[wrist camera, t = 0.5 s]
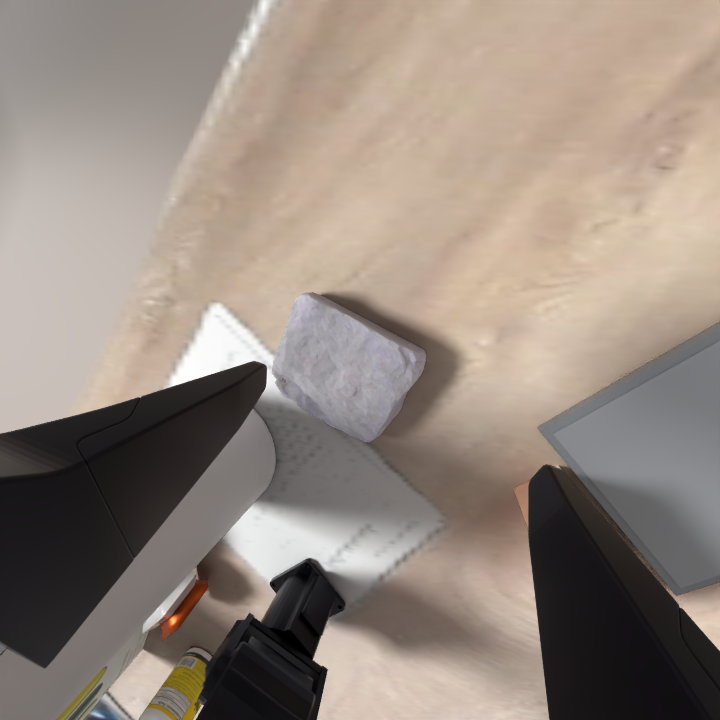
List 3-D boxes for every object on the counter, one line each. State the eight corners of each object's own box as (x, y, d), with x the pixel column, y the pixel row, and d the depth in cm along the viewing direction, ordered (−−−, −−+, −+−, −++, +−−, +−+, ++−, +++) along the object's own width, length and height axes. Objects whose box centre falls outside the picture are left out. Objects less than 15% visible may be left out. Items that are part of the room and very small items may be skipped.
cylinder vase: (161, 437, 34) (-458, 746, 11) (217, 365, 30) (-574, 602, 7) (235, 518, 34) (-243, 1029, 10) (302, 454, 30) (-229, 1055, 6)
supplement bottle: (210, 685, 41) (142, 797, 32) (181, 657, 42) (106, 760, 32) (226, 667, 40) (160, 780, 30) (196, 638, 40) (122, 741, 31)
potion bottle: (141, 475, 39) (228, 551, 40) (70, 542, 36) (166, 621, 37) (99, 495, 30) (213, 592, 31) (1, 586, 27) (130, 688, 28)
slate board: (668, 586, 23) (677, 597, 23) (537, 427, 24) (540, 432, 23) (904, 506, 19) (926, 516, 18) (739, 310, 19) (753, 310, 18)
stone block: (389, 430, 29) (438, 343, 24) (373, 462, 25) (428, 365, 20) (288, 371, 31) (315, 281, 26) (258, 391, 27) (282, 289, 22)
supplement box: (143, 651, 44) (-37, 866, 27) (77, 598, 46) (-131, 770, 29) (165, 594, 40) (-31, 804, 23) (91, 538, 42) (-140, 697, 25)
